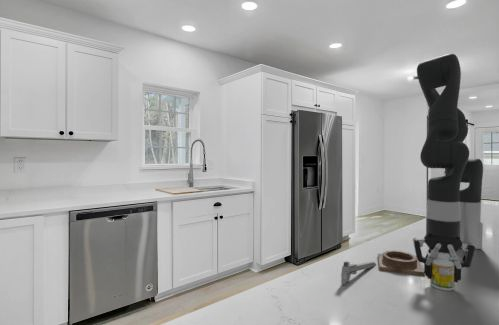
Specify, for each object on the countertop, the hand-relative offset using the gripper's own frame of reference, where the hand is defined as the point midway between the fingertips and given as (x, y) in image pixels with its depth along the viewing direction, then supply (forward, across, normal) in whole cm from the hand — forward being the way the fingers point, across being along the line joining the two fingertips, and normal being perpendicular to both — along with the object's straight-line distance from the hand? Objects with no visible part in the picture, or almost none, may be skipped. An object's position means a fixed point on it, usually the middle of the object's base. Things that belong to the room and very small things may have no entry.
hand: (441, 279), depth 77 cm
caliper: (+2, +20, -1) cm, 21 cm away
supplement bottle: (+2, 0, 0) cm, 2 cm away
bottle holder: (+2, +9, -12) cm, 15 cm away
